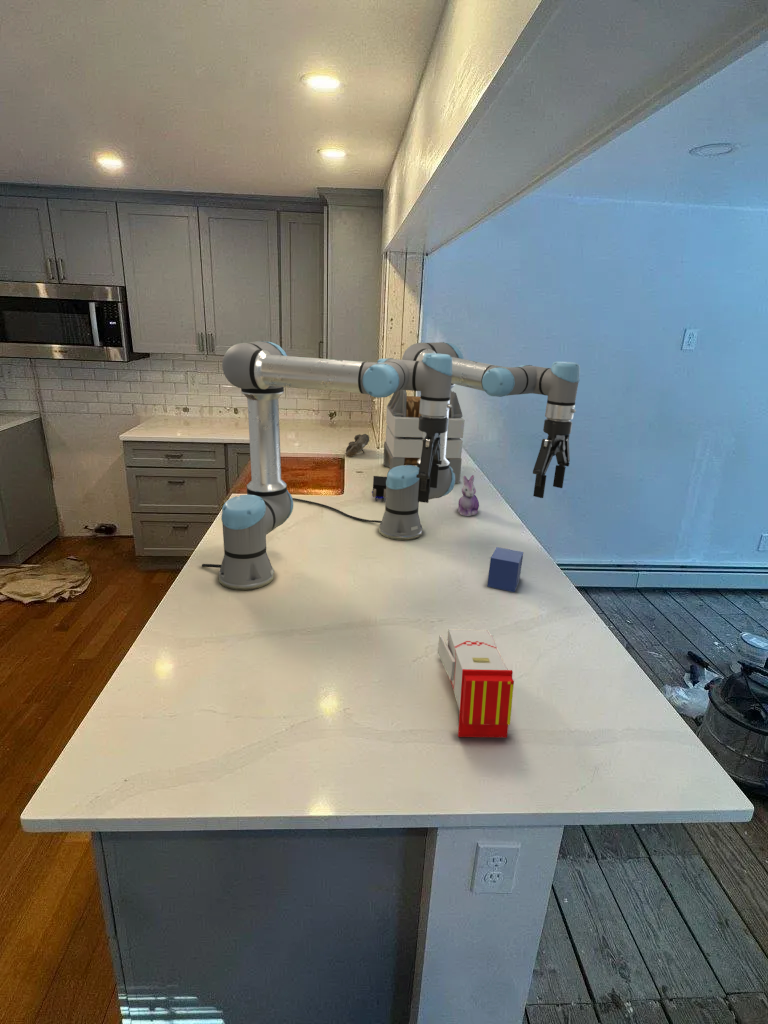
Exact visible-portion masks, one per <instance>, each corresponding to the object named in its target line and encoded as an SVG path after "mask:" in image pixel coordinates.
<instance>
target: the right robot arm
mask: <svg viewBox="0 0 768 1024" xmlns="http://www.w3.org/2000/svg"><path fill="white" fill-rule="evenodd" d="M427 353H434V354H436V353H437V354H447V355H450V356H451V357H452V373H453V374H452V381H451V391H452V389H453V388H454V387H455V386H460V387H464V388H469V389H472V390H473V389H474V390H477V391H483V392H485V393H486V394H487V395H488V396H489V397H498V398H501V397H507V396H518V395H528V394H533V395H541V396H547V400H546V407H545V413H544V417H545V419H544V421H543V429H542V431H543V433H545V434H547V438H542V439H541V444H540V447H539V451H538V454H537V457H536V460H535V463H534V466H533V469H532V474H533V475H535V482H534V487H533V497H535V498H538V499H539V498H540V499H544V497H545V489H546V482H547V475H546V474H547V471H548V469H549V466H550V465H551V462H552V460H553V457H555V459H556V465H555V469H554V476H553V483H552V487H554V488H559V489H563V487H564V480H565V473H566V468H567V467H570V462H571V459H570V435H571V433H572V428H573V421H572V420H573V419H574V414H575V413H576V411H577V410H576V409H575V408H576V399H577V394H578V388H579V383H580V374H581V366H580V364H579V363H577V362H572V361H554V362H553V363H552V364H551V367H543V366H537V365H532V364H520V365H518V366H514V367H513V366H510V367H509V366H502V365H495V364H491V363H485V362H480V361H475V360H470V359H465V358H464V357H465V356H464V354H463V352H462V350H460V347H459V346H457V345H456V344H454V343H451V342H445V341H443V342H442V341H441V342H440V341H439V342H438V341H437V342H415V343H413V344H411V345H410V346H408V347H407V348H406V349H405V351H404V352H403V355H402V357H401V360H411V361H422V359H423V356H424V354H427ZM451 391H450V392H451ZM449 404H450V400H449ZM446 417H447V418H448V419H449V413H448V415H447V416H446ZM447 433H448V427H447V431H446V432H445V433H441V435H440V458H441V459H440V461H442V464H441V465H440V464H437V465H439V469H438V481H437V488H431V487H430V490H429V500H434V499H441V498H442V497H445V496H447V495H449V494H450V493H451V492H452V491H453V489H454V487H455V484H456V483H455V474H454V473H453V469H452V468H451V467H450V466H449V465H450V462H449V461H448V460H447V459H446V447H447ZM425 437H426V433H425V432H423V439H424V438H425ZM422 446H423V441H422ZM420 460H421V457H420V458H419V459H418V460H417V466H413V465H401V466H397V467H394V468H392V469H390V468H389V470H388V472H387V475H386V477H387V480H386V497H385V504H384V505H385V507H384V508H385V509H384V513H383V515H382V519H381V520H377V519H376V520H375V519H373V520H372V519H365V518H361V517H357V516H354V515H350V514H348V513H346V512H343V511H341V510H340V509H337V508H334V507H332V506H330V505H327V504H323V503H319V502H316V501H311V500H306V499H301V498H295V497H292V499H293V501H297V502H302V503H307V504H312V505H316V506H319V507H320V506H321V507H323V508H327V509H330V510H332V511H335V512H337V513H339V514H341V515H343V516H345V517H348V518H349V519H350V518H351V519H353V520H357V521H361V522H366V523H377V524H379V526H378V533H379V534H380V535H381V536H382V537H385V538H387V539H389V540H395V541H410V540H415V539H418V538H420V537H421V536H422V535H423V525H422V524H421V518H420V515H419V507H420V506H419V505H420V502H418V491H419V478H417V477H416V476H417V474H419V467H420ZM423 473H424V472H423Z"/></svg>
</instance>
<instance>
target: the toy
mask: <svg viewBox="0 0 768 1024" xmlns="http://www.w3.org/2000/svg"><path fill="white" fill-rule="evenodd" d="M446 640H447V643H446V641H445V639H444V636H443V635H442V634H439V637H438V646H437V656H438V657H439V659H440V661H441V663H442V666H443V668H444V670H445V672H446V674H447V677H448V679H449V681H450V684H451V687H452V690H453V693H454V697H455V701H456V705H457V708H458V711H459V714H458V715H459V716H458V730H457V731H458V732H457V737H458V738H508V731H509V726H510V725H511V717H512V707H513V697H514V696H513V695H514V684H515V680H514V679H513V673H514V671H513V670H512V669H508V667H507V665H506V662H505V661H504V659H503V658H502V655H501V653H500V651H499V649H498V647H497V643H496V639H495V637H494V635H493V634H491V632H490V631H489V629H467V628H466V629H465V628H463V629H461V628H460V629H459V628H448V630H447V639H446Z"/></svg>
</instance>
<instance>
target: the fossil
mask: <svg viewBox="0 0 768 1024" xmlns="http://www.w3.org/2000/svg"><path fill="white" fill-rule="evenodd" d="M369 443H370V436H369V434H367V433H363V434H361V433H360V434H356V435H355V436H354V441H349V442H348V445H347V447H346V449H345V455H346V457H348V458H351V457H354V456H356V455H357V454H359V453H361V452H362V454H365V451H364V448H365V447H366V446H368V444H369Z"/></svg>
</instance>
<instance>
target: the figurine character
mask: <svg viewBox="0 0 768 1024" xmlns="http://www.w3.org/2000/svg"><path fill="white" fill-rule="evenodd" d="M372 480H373V481H372V491H371V497H372V498H374V501H376V502H378V500H379V499H380V500H381V501H382V502H384V501H385V498H386V480H387V476H382V475H381V476H380V475H373V479H372Z"/></svg>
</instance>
